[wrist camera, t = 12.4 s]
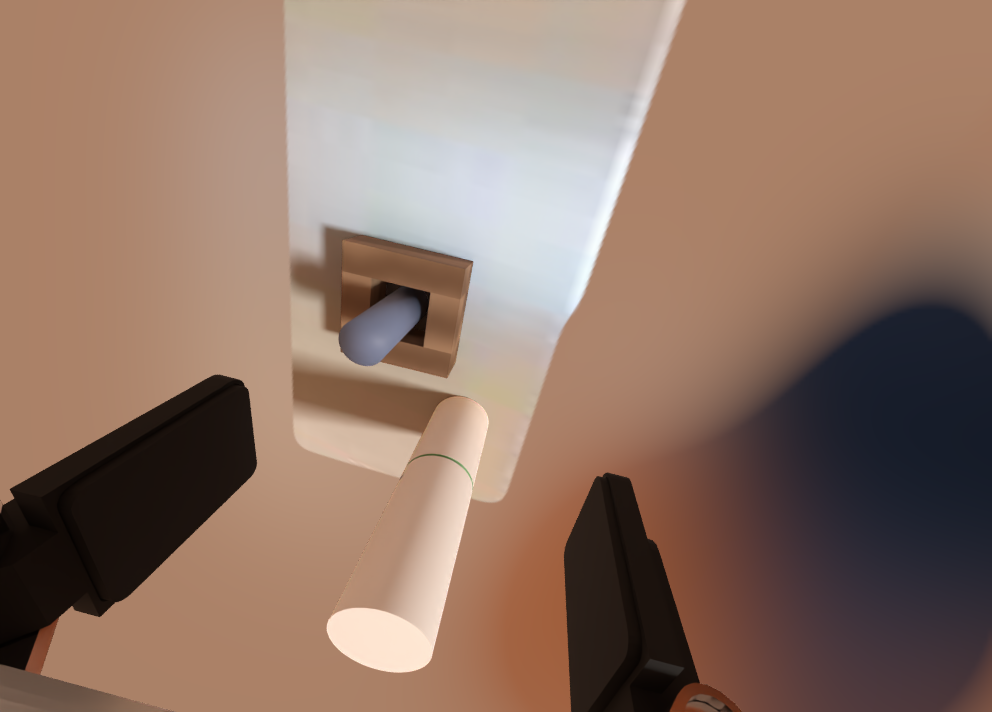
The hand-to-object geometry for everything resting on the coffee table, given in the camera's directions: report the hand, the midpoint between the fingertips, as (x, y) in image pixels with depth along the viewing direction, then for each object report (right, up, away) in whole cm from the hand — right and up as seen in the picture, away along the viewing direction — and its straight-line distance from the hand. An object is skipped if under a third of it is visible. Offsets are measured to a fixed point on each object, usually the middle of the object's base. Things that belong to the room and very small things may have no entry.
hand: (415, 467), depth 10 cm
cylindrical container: (-2, -5, +37) cm, 37 cm away
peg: (-7, +9, +31) cm, 33 cm away
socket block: (-7, +9, +31) cm, 33 cm away
